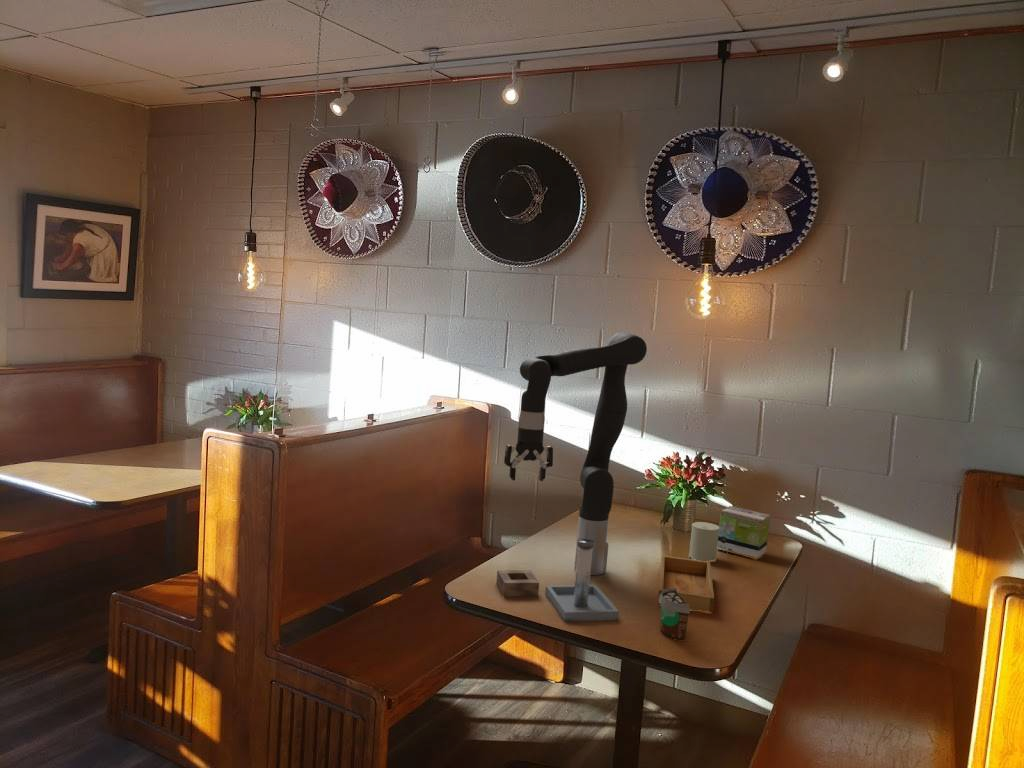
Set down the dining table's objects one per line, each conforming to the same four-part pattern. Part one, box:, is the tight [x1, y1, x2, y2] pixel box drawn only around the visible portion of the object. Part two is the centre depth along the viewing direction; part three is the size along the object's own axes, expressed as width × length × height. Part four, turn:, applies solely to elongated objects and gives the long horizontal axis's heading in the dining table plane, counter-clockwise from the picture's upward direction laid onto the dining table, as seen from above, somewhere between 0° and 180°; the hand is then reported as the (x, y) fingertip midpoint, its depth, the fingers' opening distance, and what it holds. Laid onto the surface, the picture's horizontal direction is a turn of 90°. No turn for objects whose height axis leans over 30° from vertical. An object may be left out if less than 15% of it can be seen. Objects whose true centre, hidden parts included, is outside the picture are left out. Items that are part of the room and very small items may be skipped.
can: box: [688, 521, 719, 561], centre depth 267 cm, size 9×9×12 cm
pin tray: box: [544, 584, 620, 623], centre depth 218 cm, size 15×19×2 cm
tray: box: [657, 555, 715, 613], centre depth 236 cm, size 31×15×6 cm, turn 168°
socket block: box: [496, 569, 540, 598], centre depth 227 cm, size 10×10×4 cm
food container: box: [657, 588, 691, 642], centre depth 205 cm, size 12×6×10 cm, turn 5°
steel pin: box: [573, 539, 595, 607], centre depth 217 cm, size 5×5×18 cm
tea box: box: [717, 505, 771, 557], centre depth 277 cm, size 15×10×15 cm
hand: (527, 480), depth 233 cm, fingers open, 8 cm apart
